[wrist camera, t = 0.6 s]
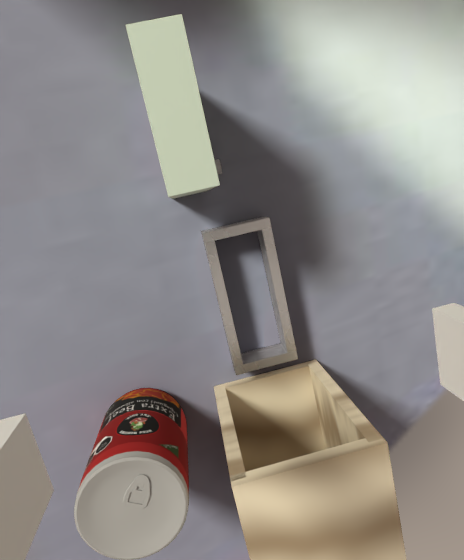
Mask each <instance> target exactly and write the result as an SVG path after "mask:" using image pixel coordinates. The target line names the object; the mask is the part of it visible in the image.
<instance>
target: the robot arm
mask: <svg viewBox="0 0 464 560" xmlns="http://www.w3.org/2000/svg"><path fill="white" fill-rule="evenodd" d="M432 312H433V321H434V330H435V339H436V348H437V357H438V366H439V375H440V384H441V385H442V386H443V387H445V388H446V389H448V390H449V391H450V392H452V393H453V394H454V395H456V396H457V397H459V398H460V399H461V400H463V401H464V307H463V306H460V305H458V304H455V303H452V304H448V305H444V306H440V307H436V308H433V309H432ZM53 491H54V489H53V486H52V483H51V481H50V478H49V475H48V473H47V470H46V467H45V465H44V462H43V459H42V457H41V454H40V451H39V449H38V446H37V443H36V440H35V438H34V435H33V432H32V430H31V427H30V424H29V422H28V419H27V416H26V414H21V415H18V416H14V417H10V418H6V419H2V420H0V560H25V558H26V555H27V553H28V551H29V548H30V546H31V543H32V541H33V539H34V536H35V534H36V531H37V529H38V527H39V524H40V522H41V520H42V517H43V515H44V512H45V510H46V508H47V505H48V503H49V501H50V498H51V496H52V493H53Z"/></svg>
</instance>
